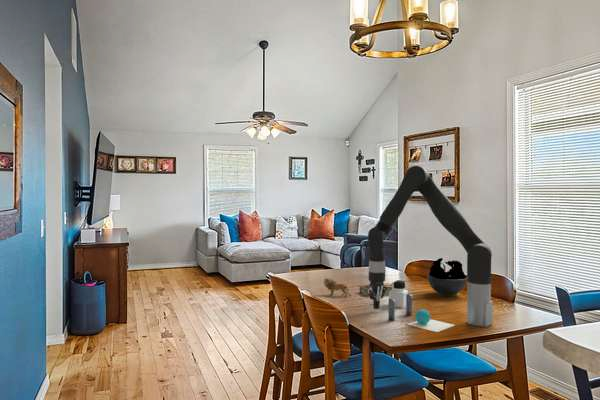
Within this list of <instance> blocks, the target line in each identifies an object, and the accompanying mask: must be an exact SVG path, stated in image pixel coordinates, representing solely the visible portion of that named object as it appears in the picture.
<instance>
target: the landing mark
mask: <svg viewBox="0 0 600 400" xmlns="http://www.w3.org/2000/svg"><path fill="white" fill-rule="evenodd" d="M406 325H407V326H411V327H415V328H418V329H422V330H426V331H431V332H434V333H439V332H441V331H445V330H447V329H450V328H453V327H455V326H456V324H452V323H449V322H445V321H439V320H436V319H431V318H430V321H429V322H428V323H427V324H420V323H418V322H417V320H415V321H412V322H409V323H407V324H406Z"/></svg>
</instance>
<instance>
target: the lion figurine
mask: <svg viewBox="0 0 600 400" xmlns="http://www.w3.org/2000/svg"><path fill="white" fill-rule="evenodd" d="M323 285H324V287H325V288H327V290H329V291H330V292H331V293H330V295H333V296H334V292H335V291H341V292H342V294H341V296H342V295H344V298H348V296H349V297H351V296H352V294H350V293H349V289H348V287H347V285H346V284H345V283H343V282H342V283H338V282H336V281H335V280H333V279H332V278H330V277H326V278H324V281H323Z"/></svg>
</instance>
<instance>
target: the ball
mask: <svg viewBox="0 0 600 400" xmlns="http://www.w3.org/2000/svg"><path fill="white" fill-rule="evenodd" d="M430 319H431V313H429V311H428V310H426V309H418V310H417V311H416V312H415V321H417V322H418V323H420V324H427V323H428V322H429V321H430Z"/></svg>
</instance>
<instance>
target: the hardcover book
mask: <svg viewBox="0 0 600 400" xmlns="http://www.w3.org/2000/svg"><path fill="white" fill-rule="evenodd" d="M384 286H385V287H387V290H386V292H385V294H384V296H383V297H385V296H386V297H387V296H388V297H389V291H391V290H393V289H392V283H390V284H389V283H388V284H384ZM369 288H370V284H369V285H360V286H359V293H361V292H362V294H363V295H365V296H367V297H369V296H368V294H367V292H366V290H367V289H369Z"/></svg>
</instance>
